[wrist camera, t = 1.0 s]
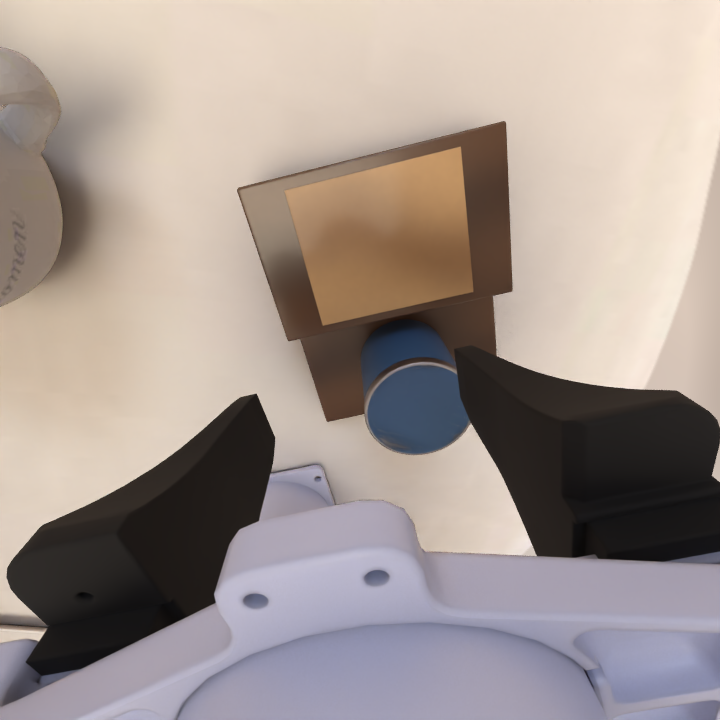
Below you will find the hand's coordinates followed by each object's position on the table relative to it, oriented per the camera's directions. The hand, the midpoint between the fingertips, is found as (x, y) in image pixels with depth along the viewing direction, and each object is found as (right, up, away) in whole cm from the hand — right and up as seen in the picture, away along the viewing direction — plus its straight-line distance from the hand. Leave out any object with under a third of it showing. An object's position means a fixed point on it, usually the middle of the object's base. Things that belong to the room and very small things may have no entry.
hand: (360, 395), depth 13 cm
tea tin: (+3, +1, +9) cm, 9 cm away
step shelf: (+2, +5, +8) cm, 10 cm away
